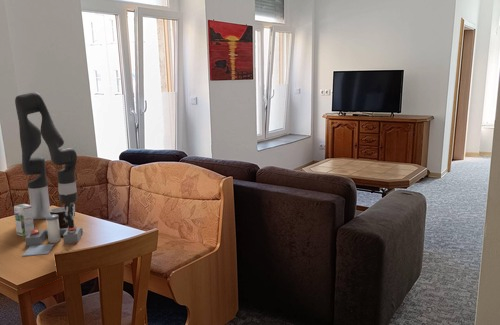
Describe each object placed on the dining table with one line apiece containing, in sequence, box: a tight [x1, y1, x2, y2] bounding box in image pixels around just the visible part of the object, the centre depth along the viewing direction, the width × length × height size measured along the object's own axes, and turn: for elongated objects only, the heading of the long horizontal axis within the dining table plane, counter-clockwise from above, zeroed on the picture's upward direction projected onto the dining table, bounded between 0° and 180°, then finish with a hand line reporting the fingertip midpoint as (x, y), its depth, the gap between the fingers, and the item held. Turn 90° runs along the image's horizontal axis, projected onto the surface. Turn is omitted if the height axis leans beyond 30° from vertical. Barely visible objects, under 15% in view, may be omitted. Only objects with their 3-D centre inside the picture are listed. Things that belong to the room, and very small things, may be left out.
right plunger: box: [68, 225, 77, 233], centre depth 184 cm, size 4×4×4 cm
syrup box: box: [13, 203, 35, 238], centre depth 190 cm, size 6×6×14 cm
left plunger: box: [30, 228, 40, 236], centre depth 181 cm, size 4×4×4 cm
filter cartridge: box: [44, 214, 62, 244], centre depth 182 cm, size 5×5×12 cm
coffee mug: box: [50, 206, 69, 229], centre depth 196 cm, size 12×9×10 cm
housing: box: [24, 226, 84, 247], centre depth 184 cm, size 12×22×4 cm, turn 102°
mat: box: [22, 243, 55, 257], centre depth 173 cm, size 10×10×1 cm
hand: (71, 227), depth 183 cm, fingers closed
